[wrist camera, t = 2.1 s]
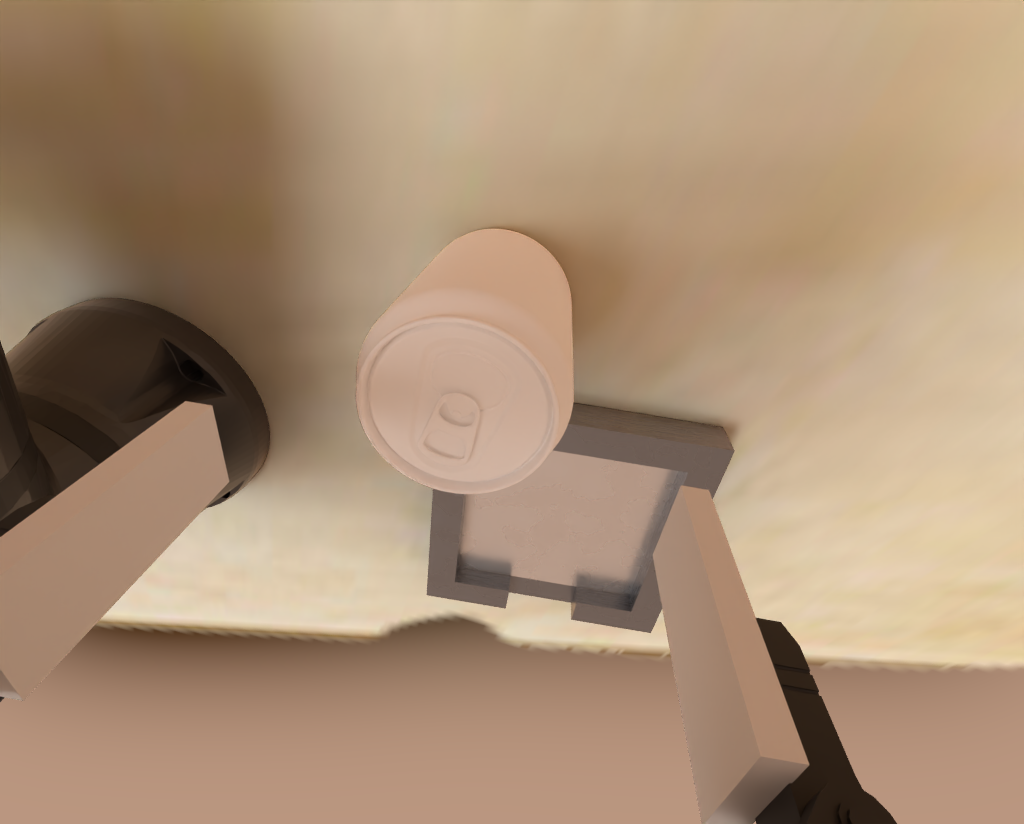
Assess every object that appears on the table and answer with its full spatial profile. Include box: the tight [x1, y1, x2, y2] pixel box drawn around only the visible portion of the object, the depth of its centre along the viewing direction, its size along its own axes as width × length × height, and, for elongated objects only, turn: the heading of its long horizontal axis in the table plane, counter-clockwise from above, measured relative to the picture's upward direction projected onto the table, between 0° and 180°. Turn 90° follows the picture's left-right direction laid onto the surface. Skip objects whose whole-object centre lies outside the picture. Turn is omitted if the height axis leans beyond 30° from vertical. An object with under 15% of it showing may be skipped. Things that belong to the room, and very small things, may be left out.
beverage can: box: [356, 229, 574, 494], centre depth 22 cm, size 8×8×12 cm
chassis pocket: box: [427, 403, 734, 633], centre depth 33 cm, size 17×17×2 cm
